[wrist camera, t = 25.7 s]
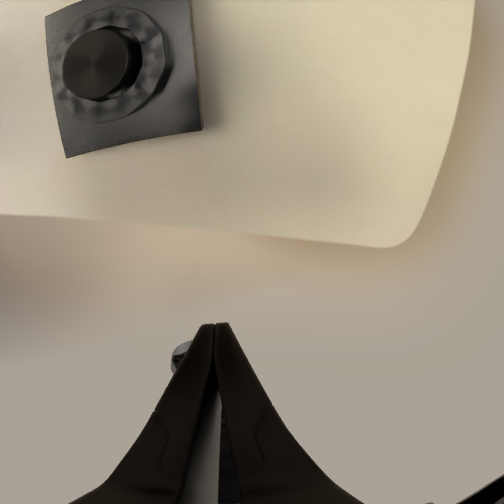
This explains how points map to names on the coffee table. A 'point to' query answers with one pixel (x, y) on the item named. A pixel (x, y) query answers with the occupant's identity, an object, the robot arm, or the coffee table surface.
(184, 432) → the robot arm
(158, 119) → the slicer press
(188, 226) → the coffee table surface
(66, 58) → the plunger
